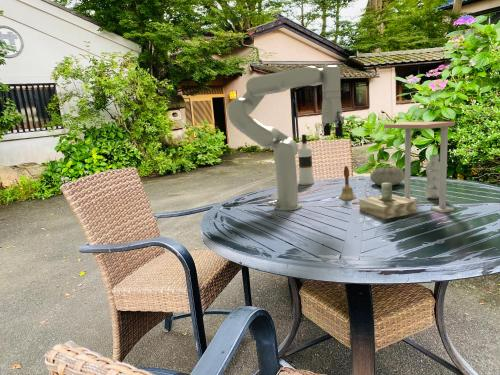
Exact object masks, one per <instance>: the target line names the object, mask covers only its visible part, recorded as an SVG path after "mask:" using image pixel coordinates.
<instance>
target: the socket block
mask: <svg viewBox="0 0 500 375" xmlns="http://www.w3.org/2000/svg"><path fill="white" fill-rule="evenodd" d="M404 197H405V196H400V195H398V194H393V193H392V201H391V202H383V201H382V194H380V195H376V196H369V197H364V198H359V202H358V203H359V211H360V212H363V211H364V212H363V213H366V214H369V215H372V216H374V217H377V218H379V219H381V220H387V219H391V218H392V219H393V218H397V217H402V216H403V217H404V216H408V215H409V216H410V215H414V214H417V213H418V210H417V209H418V205H417V204H418V202H417V201H415V200H411V199H407V198H404Z"/></svg>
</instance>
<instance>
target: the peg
mask: <svg viewBox="0 0 500 375" xmlns="http://www.w3.org/2000/svg"><path fill="white" fill-rule="evenodd" d="M392 194H393V185H392V183H382V186H381V195H382V201H383V202H391V201H392Z"/></svg>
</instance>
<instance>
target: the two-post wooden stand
mask: <svg viewBox="0 0 500 375" xmlns="http://www.w3.org/2000/svg"><path fill="white" fill-rule="evenodd" d="M455 125H456V121H405V122H403V121H402V122H396V123H387V124H386V123H385V124H383V128H384V129H404V174H405V178H404V196H403V197H404V198H407V199H411V200H415V201H418V197H413V196H411V178H412V177H411V176H412V175H411V164H412V163H411V162H412V161H411V159H412V158H411V157H412V156H411V155H412V154H411V153H412V151H411V150H412V145H411V144H412V140H411V139H412V129H415V130H416V129H417V130H418V129H420V130H423V129H424V130H428V129H437V128H440V150H439V151H440V154H439V162H440V185H439V198H438V205H435V206H430V210H431V211H435V212H439V213H449V212H453V211H455V207H452V206H448V205H446V203H447V201H446V200H447V170H448V166H447V165H448V140H449V139H448V135H449V134H448V132H449V130H448V129H449V127H453V126H454V127H455Z"/></svg>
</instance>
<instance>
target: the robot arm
mask: <svg viewBox="0 0 500 375" xmlns="http://www.w3.org/2000/svg"><path fill="white" fill-rule="evenodd" d="M319 85H321V88H322V104H321V123H322V128H323V136H324V137H329V136H331V134H332V133H331V132H332V131H331V128H332V127H331V126H330V125H331V124H333V123H334V126H335V127H334V137H335V138H339V137H343V128H344V122H345V116H344V115H343V110H342V109H343V108H342V106H343V105H342V100H341V97H342V96H341V94H342V93H341V67H340V66H338V65H335V64H334V65H326V66H324V67H322V68H319V67H316V66H313V65H310V66H304V67H299V68H293V69H289V70H284V71H280V72H274V73H269V74H264V75H263V74H262V75H258V76H253V77H251V78H248V80H247V82H246V84H245V90H246V92H245V93H244V94H243V96H241V97H236V98H233V99H231V100H230V102H229V104H228V107H227V116H228V119H229V121H230V123H231V124H232V126H233V127H234V128H235V129H236V130H238V131H239V132H240V133H241V134H243V135H245V136H246V137H247V138H248V139H250V140H252V141H253V142H255V143H256V144H258V146H260V147H262V148H264V149H265V148H266V149H267V148H270V149H271V150H273V159H274V166H275V178H276V188H277V189H276V190H277V198H275V199H274V200H273V201H271V200H270V201H268V202H267V205H268V206H269V207H270V206H271V207H272V206H273V207H274V209H275V210H277V211H283V212H284V211H285V212H288V211H297V210H299V209H301V208H302V207H303V205H302V203H301V202H299V191H298V189H299V188H298V175H297V173H298V172H297V162H296V155H297V154H298V149H299V145H298V143H297V142H296V141H295V140H294V139H293V138H292V137H290V136H288V135H287V134H285V133H284V132H282V131H281V130H280V129H278V128H277V127H274V126H272V125H271V126H266V125H264V124H262V123H261V122H260V121H259V120H257V119H255V118H254V117H252V116H250V114H252V113H253V112H254V111H255V110H256V109H257V107H258V105H260V103H261V102H262V100H263V99H264V98H265V96H266V95H267V96H268V95H271V94H279V93H283V92H286V91H289V90H291V89H294V88H301V87H306V86H312V87H316V86H319Z"/></svg>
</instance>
